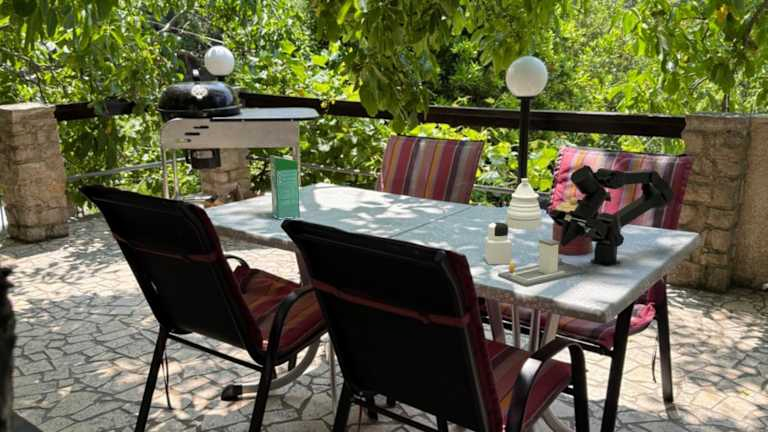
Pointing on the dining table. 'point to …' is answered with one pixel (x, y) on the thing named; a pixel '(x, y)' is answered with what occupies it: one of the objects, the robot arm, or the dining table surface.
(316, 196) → the dining table surface
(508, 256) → the medicine bottle
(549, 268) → the fader tab
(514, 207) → the honey pot
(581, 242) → the canister
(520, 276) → the console
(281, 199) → the milk carton
